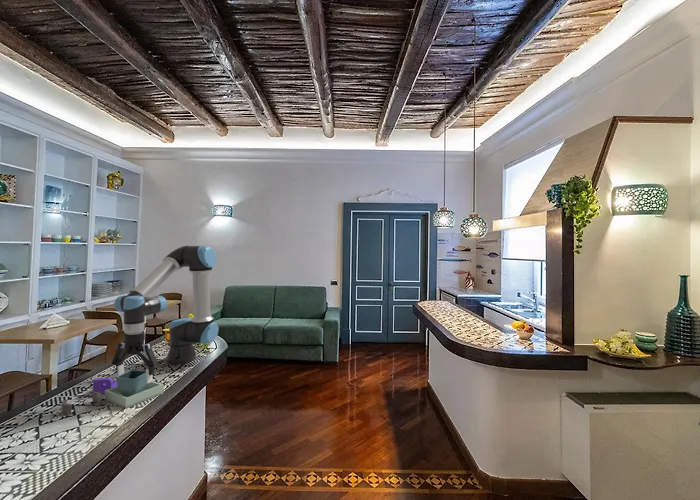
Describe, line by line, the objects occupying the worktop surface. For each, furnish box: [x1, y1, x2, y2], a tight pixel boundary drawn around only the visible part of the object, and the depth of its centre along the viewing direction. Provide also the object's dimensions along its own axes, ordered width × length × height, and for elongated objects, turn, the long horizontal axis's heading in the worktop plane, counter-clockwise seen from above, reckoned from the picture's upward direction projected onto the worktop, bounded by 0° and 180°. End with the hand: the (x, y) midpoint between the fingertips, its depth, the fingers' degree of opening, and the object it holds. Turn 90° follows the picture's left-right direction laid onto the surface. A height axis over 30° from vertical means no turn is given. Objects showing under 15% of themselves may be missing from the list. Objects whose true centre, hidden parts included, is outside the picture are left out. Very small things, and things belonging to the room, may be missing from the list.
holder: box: [61, 391, 103, 417], centre depth 136 cm, size 12×7×4 cm, turn 142°
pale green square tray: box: [104, 381, 164, 409], centre depth 146 cm, size 16×16×4 cm
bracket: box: [92, 377, 118, 396], centre depth 154 cm, size 12×7×7 cm, turn 14°
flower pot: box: [115, 369, 147, 397], centre depth 146 cm, size 9×9×9 cm
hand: (135, 381), depth 146 cm, fingers open, 13 cm apart
